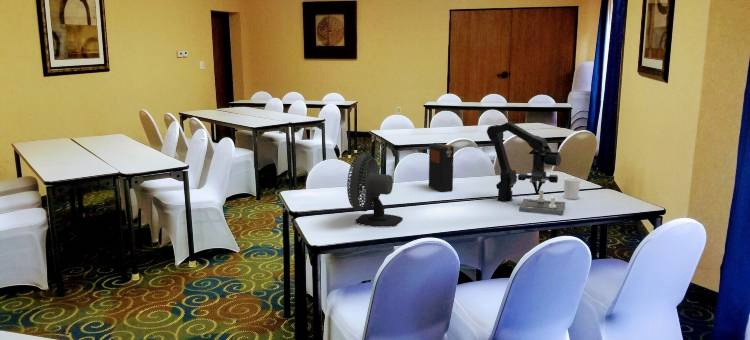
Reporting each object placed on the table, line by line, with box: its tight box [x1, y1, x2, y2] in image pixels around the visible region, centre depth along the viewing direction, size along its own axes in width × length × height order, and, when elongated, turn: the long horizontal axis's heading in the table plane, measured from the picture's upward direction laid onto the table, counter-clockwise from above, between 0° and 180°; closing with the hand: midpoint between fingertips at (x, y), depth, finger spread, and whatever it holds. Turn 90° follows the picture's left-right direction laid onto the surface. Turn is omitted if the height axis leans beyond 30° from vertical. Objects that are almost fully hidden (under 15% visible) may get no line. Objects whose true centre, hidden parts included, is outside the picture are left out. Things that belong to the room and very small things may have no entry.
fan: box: [346, 154, 404, 227], centre depth 271 cm, size 26×26×30 cm
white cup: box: [563, 177, 581, 200], centre depth 313 cm, size 8×8×10 cm
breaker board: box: [518, 198, 566, 216], centre depth 293 cm, size 20×18×2 cm
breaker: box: [549, 196, 556, 208], centre depth 286 cm, size 3×4×5 cm
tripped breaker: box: [537, 190, 545, 202], centre depth 298 cm, size 3×4×5 cm
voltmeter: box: [428, 142, 455, 193], centre depth 332 cm, size 16×9×25 cm, turn 25°
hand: (537, 194), depth 298 cm, fingers closed
